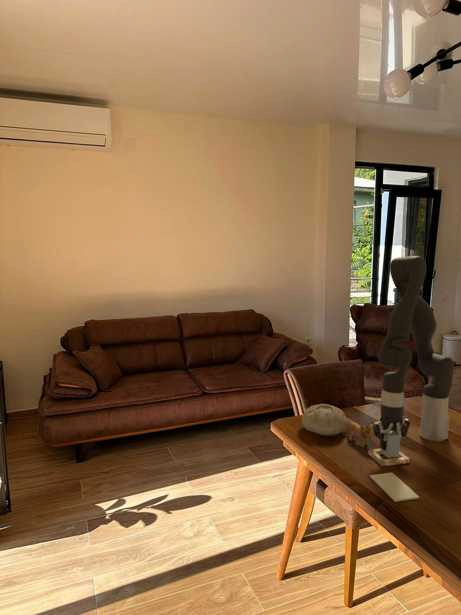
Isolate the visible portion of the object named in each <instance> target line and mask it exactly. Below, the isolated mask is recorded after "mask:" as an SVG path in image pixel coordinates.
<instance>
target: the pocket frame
mask: <svg viewBox="0 0 461 615" xmlns="http://www.w3.org/2000/svg"><path fill="white" fill-rule="evenodd" d="M367 454H368V455H369V456H370V457H371V458H373V460H375V461H376V462H377V463H378V464H379V465H380V466H381V467H385V466H393V465H394V466H395V465H401V464H410V457H408V456H407V455H405V453H403V452H401V451H400V452H399V457H392V458H385V459H384V458H383V457H382V455H383V454H382V453H381V448H374V449H373V448H372V449H368V452H367ZM380 455H381V456H380Z"/></svg>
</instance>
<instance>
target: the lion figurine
mask: <svg viewBox="0 0 461 615" xmlns="http://www.w3.org/2000/svg"><path fill="white" fill-rule="evenodd" d="M354 433H355V435H356V436H357V437H359V438H360V445H361V448H365V447H366V446H369V443H368V441H370V440H371V439H375V437H376V436H375V433H374V429H373V425H372V423H371V424H370V423H369V424H367V425H361V426H360V425H359V424H358V423H357V422H354V421H353V422H351V423H350V425H349V428H348V430H347V431H346V432H344V433H343V435H348V434H349V441H350V442H351V441H352V442H353V437H354V436H355V435H354ZM365 445H366V446H365Z"/></svg>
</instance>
